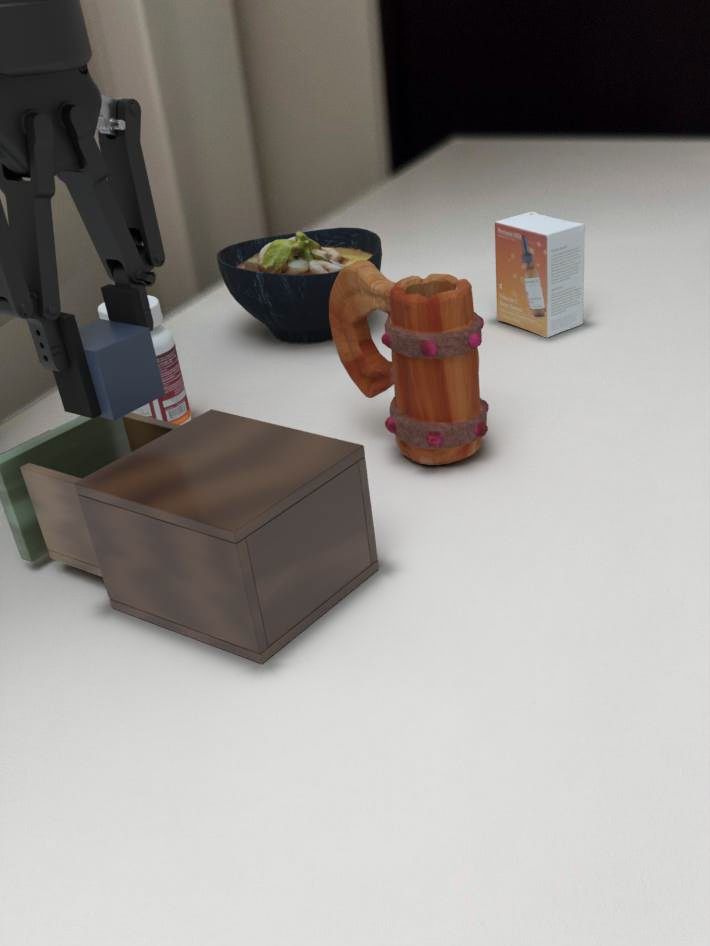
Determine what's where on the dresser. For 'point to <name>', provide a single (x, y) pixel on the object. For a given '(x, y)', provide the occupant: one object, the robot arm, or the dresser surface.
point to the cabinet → (232, 530)
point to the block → (121, 366)
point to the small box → (540, 273)
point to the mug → (415, 357)
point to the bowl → (294, 277)
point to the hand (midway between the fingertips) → (113, 397)
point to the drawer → (65, 483)
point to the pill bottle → (163, 372)
